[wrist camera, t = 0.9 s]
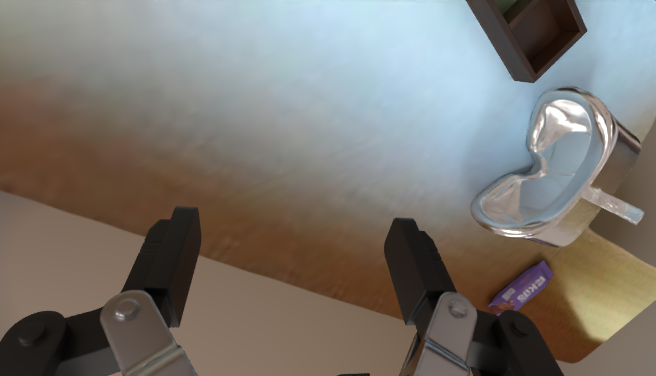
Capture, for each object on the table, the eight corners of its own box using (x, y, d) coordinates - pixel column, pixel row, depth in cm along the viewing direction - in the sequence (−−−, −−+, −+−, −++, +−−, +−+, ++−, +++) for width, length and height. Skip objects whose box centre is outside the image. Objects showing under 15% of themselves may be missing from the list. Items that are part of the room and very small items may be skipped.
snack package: (548, 263, 51) (559, 279, 53) (538, 256, 53) (549, 271, 55) (491, 310, 52) (504, 323, 54) (483, 301, 54) (496, 315, 56)
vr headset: (531, 80, 40) (669, 95, 27) (586, 116, 44) (730, 145, 31) (454, 206, 44) (539, 270, 32) (510, 228, 49) (606, 293, 36)
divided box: (508, -85, 32) (532, -97, 29) (563, 32, 38) (587, 31, 35) (451, -23, 33) (469, -30, 30) (514, 80, 39) (533, 83, 36)
